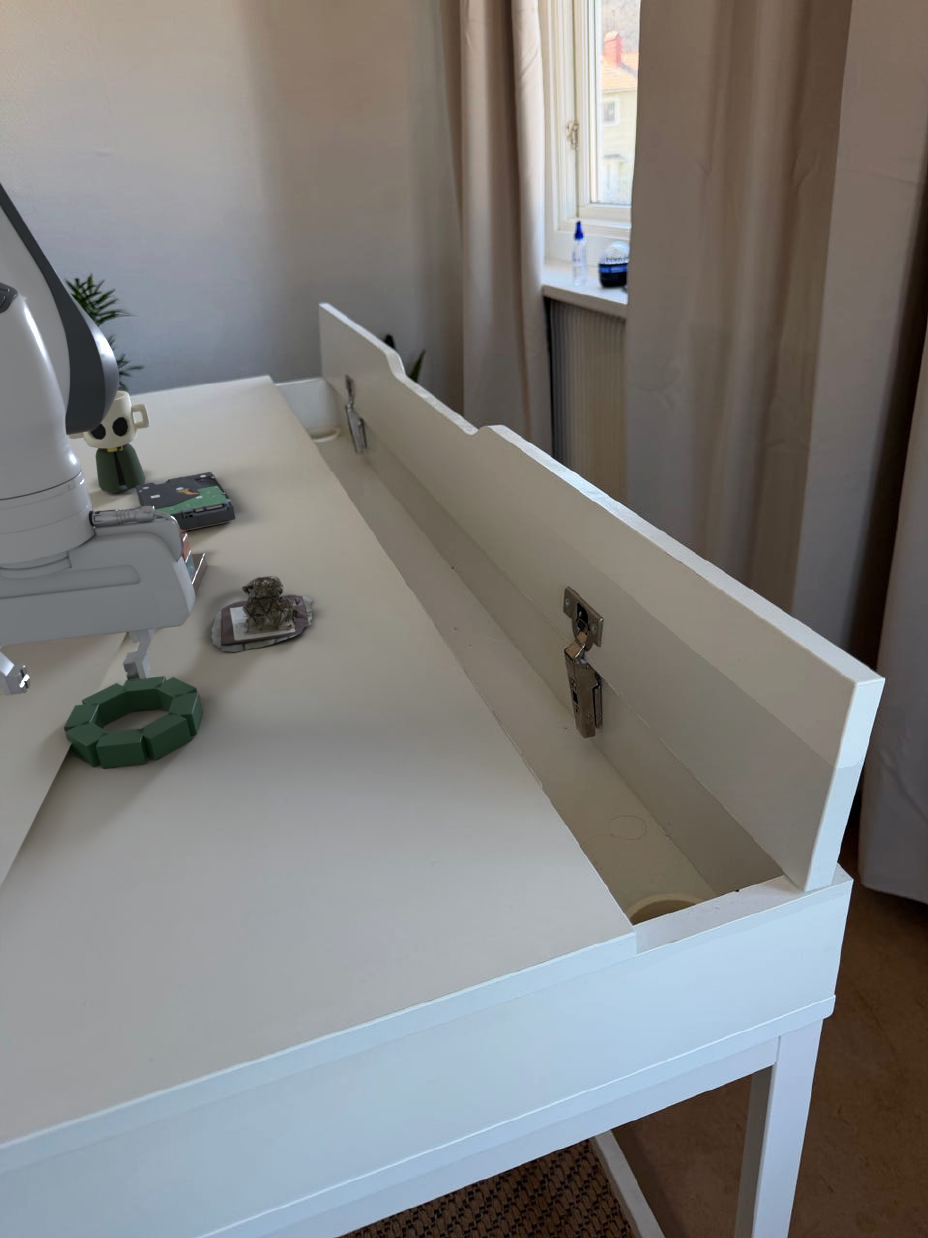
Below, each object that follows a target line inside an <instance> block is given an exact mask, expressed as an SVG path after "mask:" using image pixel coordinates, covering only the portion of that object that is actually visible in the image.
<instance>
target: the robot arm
mask: <svg viewBox="0 0 928 1238" xmlns="http://www.w3.org/2000/svg"><path fill="white" fill-rule="evenodd" d="M111 347H112V346H111V345H110V344H109V342H108V340H107V338H106V337H105V335H104V334H103V332H102V330H101V329H100V328H99V327H98V325H97V324H96V323H95V321H94V320H93V319H92V318H91V317H90V315H89V314H88V313H87V311H85V309H84V308H83V307H82V306H81V305H80V303H79V302H78V301H77V300H76V299H75V297H74V296H73V295H72V294H71V292H70V291H69V289H68V287H66V285H65V283H64V282H63V280H62V278H61V277H60V275H59V274H58V272H57V271H56V268H55V267H54V266H53V264H52V262H51V261H50V260H49V258H48V257H47V254H46V253H45V252H44V250H43V248H42V246H41V245H40V243H39V242H38V240H37V239H36V237H35V236H34V234H33V233H32V230H31V229H30V227H29V225H28V224H27V222H26V221H25V219H24V218H23V217H22V214H21V212H19V210H18V208H17V206H16V205H15V203H14V201H13V200H12V198H11V197H10V196H9V194H8V192H7V191H6V189H5V187H4V186H3V184H2V183H1V181H0V686H1V689H2V691H3V694H4V695H5V696H13V695H19V694H20V695H21V694H26V693H27V691H28V689H30V687H31V678H30V676H29V675H28V674H27V673H28V669H27V667H26V664H14V663H13V662H12V661H11V660H10V659H9V658H8V657H7V656H6V655H5V654H4V653H3V652H2V651H1V649H2V648H3V647H9V646H10V647H11V646H17V645H19V646H20V645H27V644H36V643H43V642H55V641H62V640H70V639H71V640H72V639H79V638H87V637H98V636H106V635H115V634H122V633H129V637H130V640H131V643H133V644H134V643H139V644H138V647H137V650H136V651H131V652H127V653H126V656H125V659H124V660H123V662H122V666H123V670H124V672H125V673H126V675H125V676H126V677H125V678H126V680H128V681H133V680H141V679H148V678H150V674H151V667H152V666H151V663H150V659H149V656H148V651H149V648H150V646H151V643H152V640H153V637H154V635H155V632H156V630H159V629H168V628H176V627H181V626H183V625H184V624H185V623H186V622H187V620H188V619H189V618H190V616H191V614H192V612H193V610H194V607H195V603H196V595H195V592H194V588H193V585H192V581H191V578H190V576H189V573H188V570H187V567H186V565H185V562H184V560H183V557H182V554H183V551H184V543H183V539H182V535H181V530H180V527H179V525H178V523H177V521H176V520H175V519H174V518H173V517H172V516H171V515H169V514H167V513H165V512H163V511H158V510H155V508H154V507H152V506H141V505H140V506H136V507H135V508H126V509H123V508H122V509H121V508H120V509H114V508H113V509H105V510H94V507H93V503H92V501H91V496H90V493H89V489H88V485H87V482H86V478H85V475H84V471H83V467H82V464H81V462H80V459H79V457H78V455H77V454H76V453H75V451H74V449H73V447H72V446H71V443H70V441H69V439H68V438H69V437H68V435H71V434H77V433H82V432H88V431H93V430H95V429H96V428H97V427H98V426H99V425H100V423H101V422H102V421H103V419H104V418H105V416H106V415H107V413H108V412H109V410H110V408H111V406H112V404H113V402H114V399H115V397H116V394H117V391H119V386H120V371H119V367H118V363H117V359H116V357H115V354H114V351H113V349H112V348H111ZM156 516H160V517H163V518H160V519H156Z"/></svg>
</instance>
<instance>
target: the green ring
mask: <svg viewBox="0 0 928 1238" xmlns="http://www.w3.org/2000/svg"><path fill="white" fill-rule="evenodd" d="M158 709H161V710H163V711H165V712H167V713H165V715H163V716H161V717H159V718H157V719H155V720H153V721H152V722H150V723H148V724H146V725H144V726H142V727H141V728H132V729H124V730H113V731H106V730H105V729H104V728H105V726H106V725H107V724H109V723H112V722H113V721H116V720H117V719H119V718H121V717H123V716H125V715H127V714H129V713H132V712H139V711H140V712H141V711H149V710H158ZM203 714H204V709H203V705H202V701H201V696H200V692H198V689H197V687H195V686H194V685H191V684H189V683H187V682H186V681H183V680H181V679H178V678H176V677H174V676H172V677H169V678H168V679H167V677H166V676H165V675H162V676H161V675H160V676H153V677H148V679H141V680H133V681H128V679H126V680H125V682H124V683H123V685H121V683H120V684H119V683H118V682H116V683H114V684H112V685H109V686H108V687H106V688H103V689H101V690H100V691H99V690H98V691H97V692H96V693H93V694H91V695H89V696H87V697H85V698H83V699H81V704H76V705H74V707H73V708H72V711H71V712H70V715H69V716H68V718H67V720H66V722H65V723H64V726H63V730H64V734H65V736H66V740H67V741H68V742H69V743H70V745H69V750H70V752H71V754H72V755H74V756H76V757H77V758H79V759H81V760H82V761H83V762H85V763H86V764H88V765H90V766H92V767H96V766H98V765H100V767H101V769H109V768H119V767H128V766H137V765H145V764H147V762H148V759H149V757H150V758H151V759H153V760H155V761H157V760H160V759H161V758H163V757H165V756H166V755H168V754H170V753H171V752H173V751H176V749H179V748H180V747H182V746H183V745H185V744H187V743H189V742H190V741H192V736H195V735H198V731H199V728H200V726H201V721H202V717H203Z"/></svg>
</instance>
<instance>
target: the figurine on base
mask: <svg viewBox="0 0 928 1238" xmlns="http://www.w3.org/2000/svg"><path fill="white" fill-rule="evenodd" d="M284 589H285V588H284V582H283V581H282V580H281V578H279V577H278V576H276V575H267V576H257V577H254V578H253V579H251V580H250V581H249V582H247V583H246V584H244V585H243V586H242V587H241V590H242V591H243V592H244V593H245V595H247V599H243V600H239V601H235V602H232V603H231V604H229V605H226V606H224V607H222V608H221V610H220V611H218V613H217V614H216V615H215V619H214V621H213V626H212V627H211V632H212V634H211V637H210V638H211V640H212V643H211V644H212V645H214V646H216V647H217V648H218V650H219V651H222V652H223V651H224V652H231V653H236V652H237V653H238V652H243V651H247V650H251V649H259V648H264V647H267V646H268V647H269V646H271V645H275V644H276V643H277V644H278V643H279V642H282V641H285V640H288V639H291V638H293V637H296V636H298V635H300V634H302V633H303V630H304V629H305V628H306V627H309V626H311V625H312V622H311V620H312V619H313V616H312V614H313V613H314V611H313V608H312V607H311V606H312V605H311V604H312V602H313V601H314V599H312V598H310V597H307V596H305V595H297V594H293V593H291V594H290V593H289V594H283V593H284ZM282 594H283V595H282Z"/></svg>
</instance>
